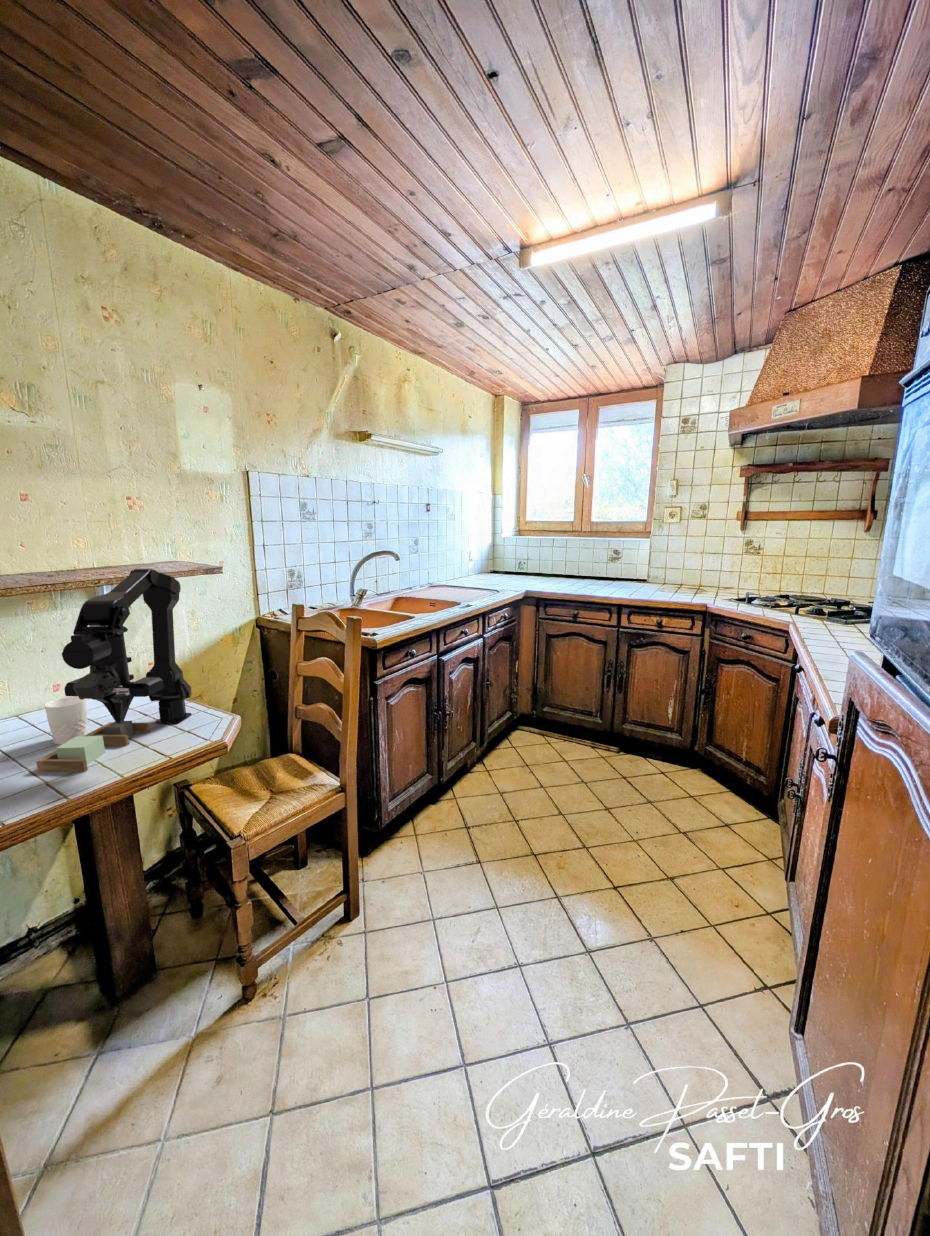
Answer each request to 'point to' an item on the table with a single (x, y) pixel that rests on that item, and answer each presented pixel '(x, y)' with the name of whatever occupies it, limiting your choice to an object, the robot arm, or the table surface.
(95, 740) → the sage green block
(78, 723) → the white cup
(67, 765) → the walnut slot rack
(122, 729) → the slate grey cube
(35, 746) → the table surface
